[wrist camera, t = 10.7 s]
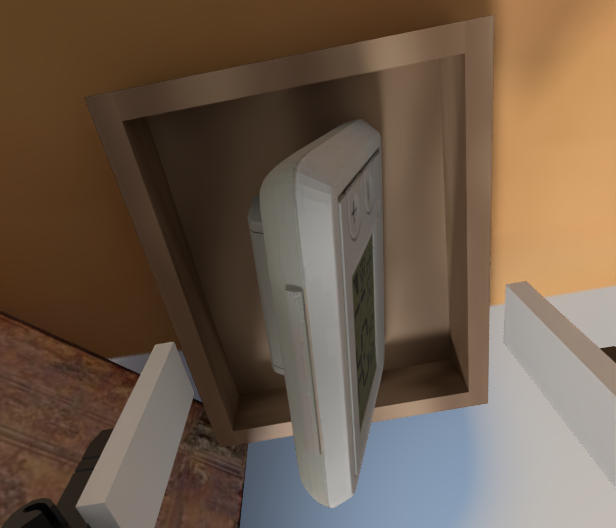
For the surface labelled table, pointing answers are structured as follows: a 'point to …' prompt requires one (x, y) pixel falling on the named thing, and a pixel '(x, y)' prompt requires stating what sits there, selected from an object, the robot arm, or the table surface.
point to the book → (96, 431)
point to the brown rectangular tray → (276, 148)
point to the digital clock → (325, 298)
